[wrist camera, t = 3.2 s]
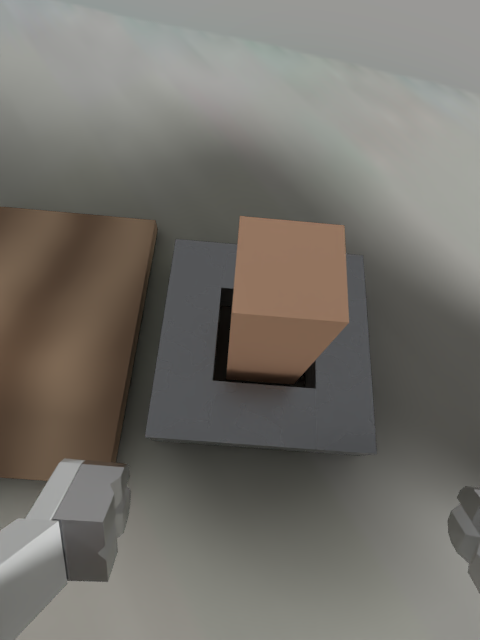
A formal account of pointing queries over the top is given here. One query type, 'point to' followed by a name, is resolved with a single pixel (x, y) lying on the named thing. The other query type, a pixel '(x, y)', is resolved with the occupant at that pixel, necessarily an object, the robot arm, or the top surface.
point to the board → (67, 334)
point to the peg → (285, 298)
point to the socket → (255, 399)
